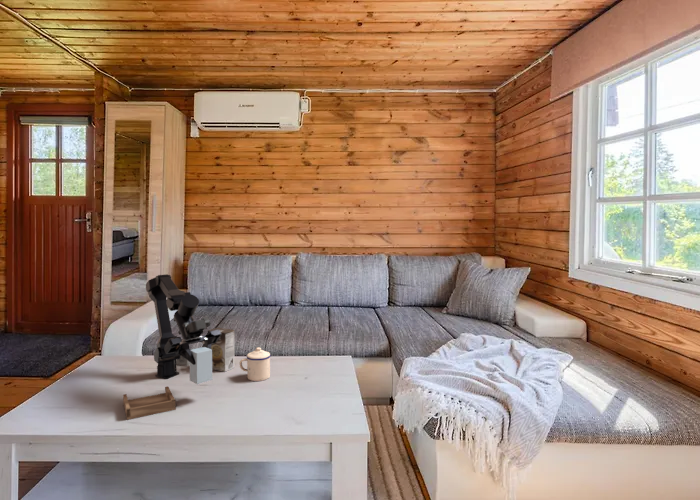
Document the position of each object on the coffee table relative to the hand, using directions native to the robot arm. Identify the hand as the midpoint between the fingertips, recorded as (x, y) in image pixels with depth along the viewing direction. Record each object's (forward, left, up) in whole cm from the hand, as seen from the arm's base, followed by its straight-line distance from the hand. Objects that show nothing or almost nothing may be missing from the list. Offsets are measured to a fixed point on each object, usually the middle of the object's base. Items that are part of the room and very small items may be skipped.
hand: (202, 362), depth 145 cm
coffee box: (-28, -18, -14) cm, 36 cm away
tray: (+11, -13, -13) cm, 22 cm away
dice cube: (-25, -36, -14) cm, 46 cm away
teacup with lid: (-26, +1, -14) cm, 29 cm away
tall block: (0, -1, -7) cm, 7 cm away
